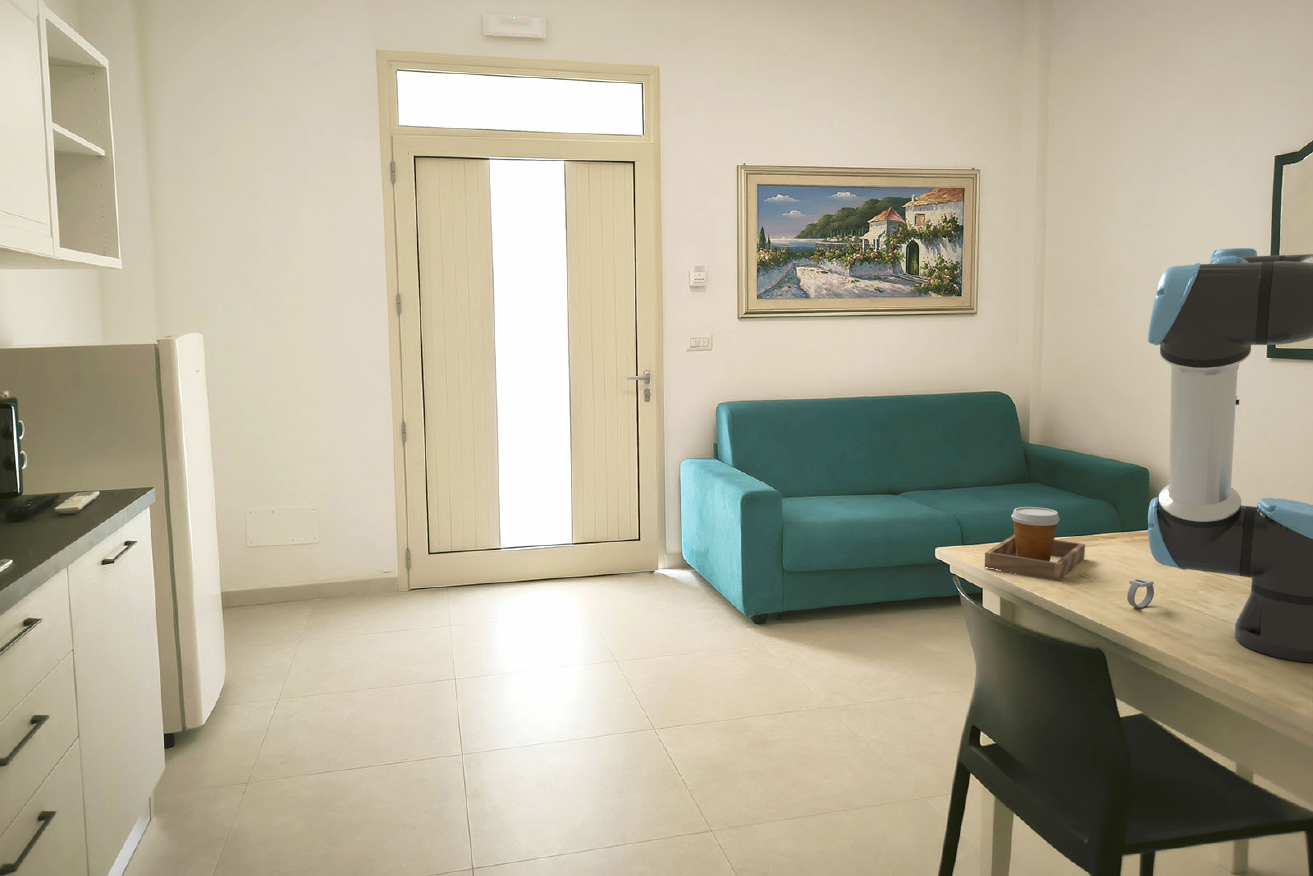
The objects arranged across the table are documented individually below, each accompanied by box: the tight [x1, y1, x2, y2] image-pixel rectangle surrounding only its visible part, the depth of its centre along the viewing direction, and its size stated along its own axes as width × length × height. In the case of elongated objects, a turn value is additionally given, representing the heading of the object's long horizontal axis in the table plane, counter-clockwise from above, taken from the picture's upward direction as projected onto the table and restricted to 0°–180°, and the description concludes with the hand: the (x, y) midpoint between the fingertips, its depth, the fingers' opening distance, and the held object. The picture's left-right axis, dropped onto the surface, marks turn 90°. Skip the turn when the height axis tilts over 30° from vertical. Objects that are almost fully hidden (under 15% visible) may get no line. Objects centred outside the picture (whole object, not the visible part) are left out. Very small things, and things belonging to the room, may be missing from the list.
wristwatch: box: [1126, 577, 1155, 609], centre depth 162 cm, size 6×3×5 cm, turn 119°
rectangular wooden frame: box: [984, 533, 1086, 582], centre depth 191 cm, size 20×15×4 cm
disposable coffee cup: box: [1011, 506, 1061, 562], centre depth 189 cm, size 10×10×12 cm
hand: (1219, 441), depth 172 cm, fingers open, 13 cm apart
